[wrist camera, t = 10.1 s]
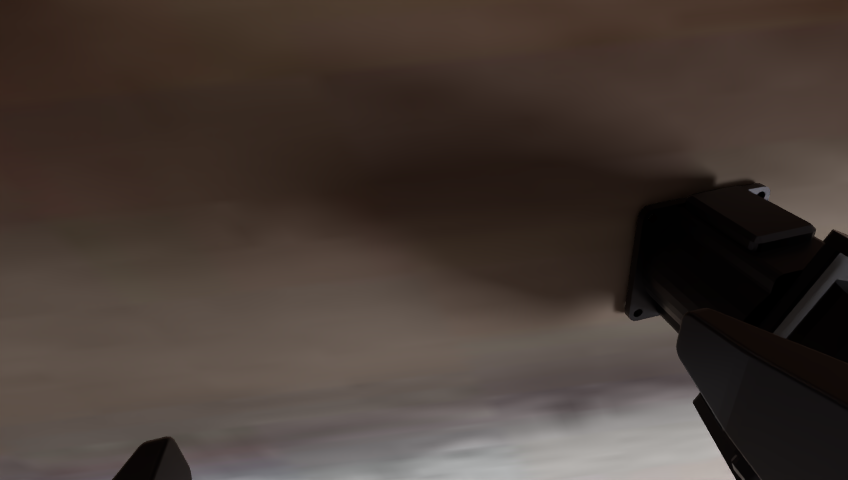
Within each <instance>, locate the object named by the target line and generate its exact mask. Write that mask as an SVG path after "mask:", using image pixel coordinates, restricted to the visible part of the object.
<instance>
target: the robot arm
mask: <svg viewBox="0 0 848 480" xmlns="http://www.w3.org/2000/svg"><path fill="white" fill-rule="evenodd" d="M769 195H770V189H769V188H768V187H766V186H764V185H762V184H760V183H755V184H750V185H745V186H732V187H727V188H723V189H718V190H713V191H708V192H703V193H698V194H693V195H691V196H689V197H686V198H681V199H676V200H672V201H667V202H662V203H657V204H652V205H648V206H646V207H644V208H643V209H642V210H641V211H640V213H639V215H638V220H637V227H636V234H635V241H634V249H633V256H632V263H631V270H630V277H629V284H628V291H627V298H626V305H625V314H626V315H627V316H628V317H629V318H630V319H631V320H633V321H637V320H641V319H646V318H650V317H654V316H658V315H661V316H662V317H663V318H664V319H665V320H666V321H667V322H668V323H669V324H670V325H671V326H672V327H673V328H674V329H675V330H676V331H677V332H678V333H679V335H678V339H677V344H676V348H677V353H678V356H679V358H680V360H681V362H682V363H683V365H684V367H685V368H686V370H687V371H688V373H689V375H690V376H691V378H692V380H693V381H694V383H695V384H696V386H697V388H698V389H699V391H700V393H699V394H698V396H697V397H696V398H695V399H694V401H693V404H694V406H695V408H696V409H697V411H698V413H699V415H700V417H701V418H702V420H703V422H704V424H705V425H706V427H707V429H708V431H709V433H710V434H711V436H712V438H713V440H714V441H715V443H716V445H717V447H718V449H719V450H720V452H721V454H722V456H723V457H724V459H725V461H726V463H727V464H728V466H729V468H730V470H731V472H732V473H733V475H734V477H735V479H736V480H848V235H846V234H844V233H841V232H839V231H836V230H834V229H833V230H832V231H831V232H830V233H829V234H828V236H827V237H826V238H825V239H824V241H822V240H820V239H818V238H816V237H815V236H814V235H815V232H816V229H815V227H814V226H813V225H812V224H811V223H809V222H807V221H805V220H803V219H801V218H799V217H798V216H796V215H794V214H792V213H790V212H788V211H786V210H784V209H783V208H781V207H779V206H777V205H775V204H773V203H771V202H769V201H768V199H769ZM652 214H653V215H652ZM651 215H652V217H651V218H650V219H648V218H649V217H650V216H651ZM112 480H192V477H191V471H190V468H189V465H188V463H187V462H186V460H185V458H184V456H183V454H182V453H181V451H180V449H179V447H178V445H177V443H176V442H175V440H174V439H173V438H172V437H162V438H158V439H154V440H150V441H146V442H144V443H143V444H141V445H140V446H139V447H138V448H137V450H136V451H135V452H134V453H133V455H132V456H131V457H130V458H129V459H128V461H127V462H126V463H125V464H124V466H123V467H122V468H121V469H120V471H119V472H118V473H117V474H116V476H115V477H114V478H113V479H112Z"/></svg>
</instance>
